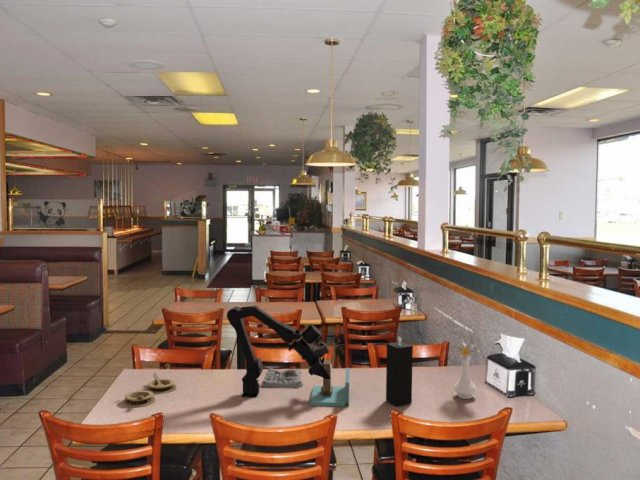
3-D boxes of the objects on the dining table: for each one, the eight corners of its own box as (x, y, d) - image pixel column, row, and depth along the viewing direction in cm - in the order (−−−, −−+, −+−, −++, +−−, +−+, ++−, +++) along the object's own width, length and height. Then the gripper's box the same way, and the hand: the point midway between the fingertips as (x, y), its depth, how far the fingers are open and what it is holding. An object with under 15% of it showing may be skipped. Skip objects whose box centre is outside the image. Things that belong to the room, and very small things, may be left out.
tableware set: (150, 411, 221) (150, 397, 221) (108, 406, 227) (108, 392, 226) (187, 387, 250) (187, 375, 249) (150, 383, 255) (150, 370, 255)
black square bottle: (396, 407, 226) (397, 340, 224) (385, 400, 233) (386, 336, 231) (411, 403, 230) (413, 338, 228) (400, 397, 237) (401, 334, 235)
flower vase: (469, 388, 250) (470, 334, 248) (486, 403, 231) (488, 344, 230) (441, 389, 248) (443, 334, 246) (457, 404, 230) (458, 345, 228)
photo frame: (320, 393, 234) (321, 363, 233) (321, 389, 240) (321, 359, 239) (332, 394, 234) (332, 364, 233) (332, 389, 240) (333, 360, 239)
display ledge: (310, 405, 227) (310, 381, 227) (313, 388, 247) (313, 367, 247) (348, 406, 226) (349, 382, 226) (349, 389, 246) (349, 368, 246)
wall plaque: (302, 389, 249) (302, 380, 248) (261, 388, 249) (261, 380, 249) (305, 372, 272) (305, 365, 272) (266, 372, 272) (266, 364, 272)
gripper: (316, 343, 226) (343, 370, 226) (319, 332, 245) (344, 358, 245) (297, 361, 227) (323, 388, 227) (301, 349, 246) (326, 374, 246)
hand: (330, 376), depth 236 cm, fingers closed on photo frame, 6 cm apart
